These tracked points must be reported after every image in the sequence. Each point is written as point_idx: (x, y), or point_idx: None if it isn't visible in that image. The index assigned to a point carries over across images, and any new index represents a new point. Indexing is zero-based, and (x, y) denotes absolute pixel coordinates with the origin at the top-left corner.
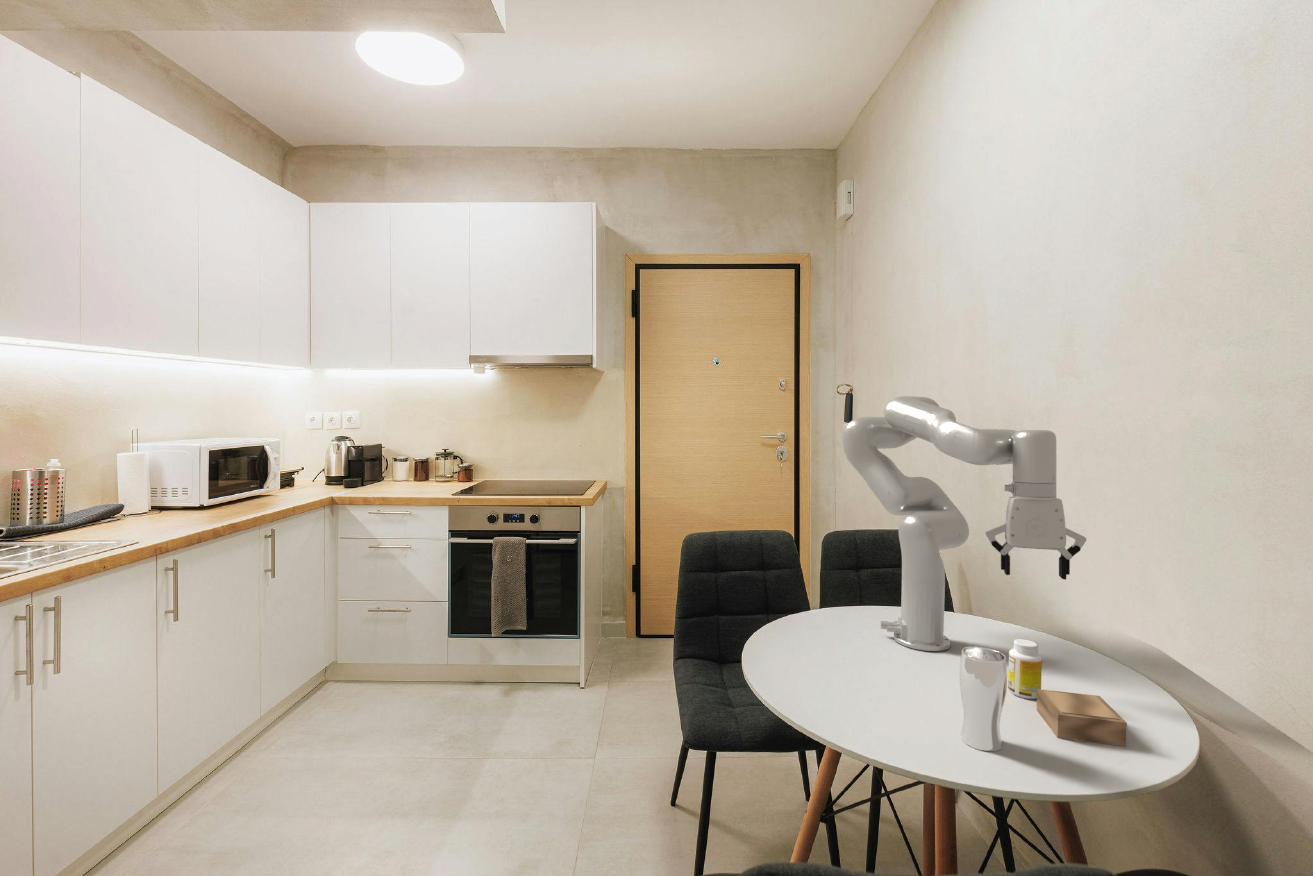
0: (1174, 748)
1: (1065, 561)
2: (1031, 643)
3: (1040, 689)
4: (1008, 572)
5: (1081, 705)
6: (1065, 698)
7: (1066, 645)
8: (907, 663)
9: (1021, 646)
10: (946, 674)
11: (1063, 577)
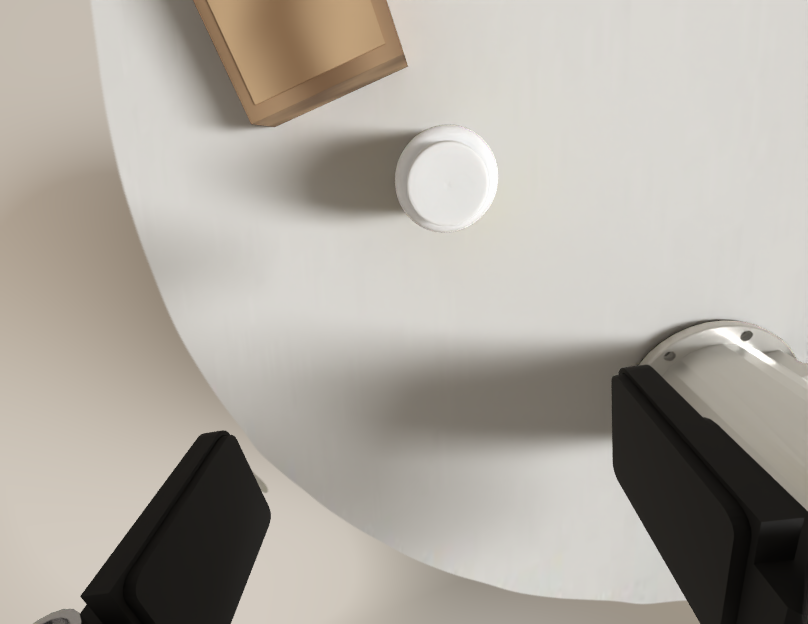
0: (118, 42)
1: (105, 570)
2: (427, 190)
3: (395, 55)
4: (637, 374)
5: None
6: (324, 16)
7: (374, 528)
8: (761, 198)
9: (460, 143)
10: (645, 181)
11: (216, 436)
